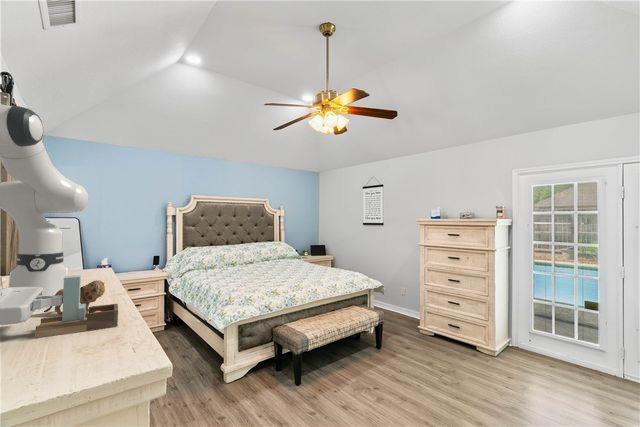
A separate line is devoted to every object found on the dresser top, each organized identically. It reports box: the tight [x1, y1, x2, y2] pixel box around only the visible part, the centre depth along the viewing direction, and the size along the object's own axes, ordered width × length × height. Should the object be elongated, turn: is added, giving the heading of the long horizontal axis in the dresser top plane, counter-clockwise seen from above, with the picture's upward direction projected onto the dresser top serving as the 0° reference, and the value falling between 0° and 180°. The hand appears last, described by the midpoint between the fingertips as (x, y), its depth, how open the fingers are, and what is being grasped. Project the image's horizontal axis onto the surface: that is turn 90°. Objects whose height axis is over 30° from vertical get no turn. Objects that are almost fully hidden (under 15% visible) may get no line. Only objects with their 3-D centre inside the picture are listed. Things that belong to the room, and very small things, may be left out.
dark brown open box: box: [86, 303, 119, 332], centre depth 78 cm, size 7×6×4 cm
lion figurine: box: [43, 279, 106, 316], centre depth 87 cm, size 15×5×9 cm, turn 105°
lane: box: [34, 313, 88, 339], centre depth 74 cm, size 7×9×2 cm
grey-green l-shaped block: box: [61, 274, 86, 323], centre depth 75 cm, size 4×4×11 cm
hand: (62, 300), depth 74 cm, fingers closed
